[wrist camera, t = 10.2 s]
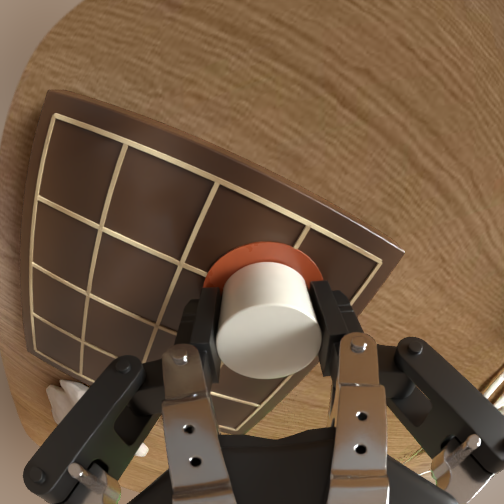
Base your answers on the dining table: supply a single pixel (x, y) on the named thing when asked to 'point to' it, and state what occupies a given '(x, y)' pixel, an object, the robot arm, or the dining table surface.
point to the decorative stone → (72, 402)
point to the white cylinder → (267, 322)
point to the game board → (165, 243)
